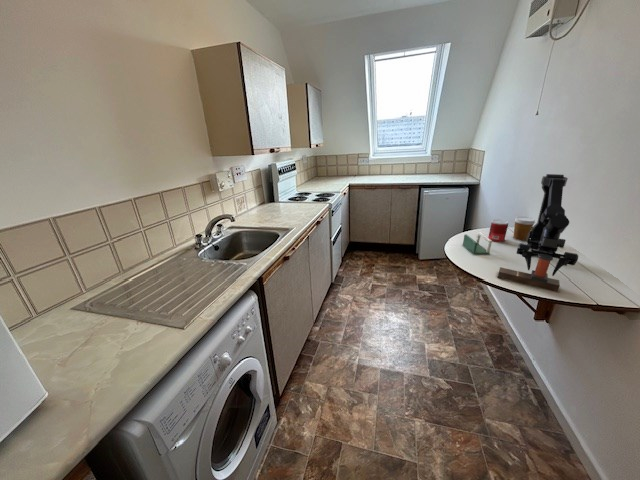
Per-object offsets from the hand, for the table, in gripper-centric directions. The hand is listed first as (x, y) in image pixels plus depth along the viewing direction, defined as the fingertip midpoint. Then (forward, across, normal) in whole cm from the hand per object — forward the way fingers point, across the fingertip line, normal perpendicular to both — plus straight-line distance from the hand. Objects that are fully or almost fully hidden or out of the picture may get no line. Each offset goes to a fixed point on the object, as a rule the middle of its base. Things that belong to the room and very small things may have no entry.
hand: (540, 272), depth 106 cm
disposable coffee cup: (-35, -11, +44) cm, 57 cm away
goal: (-13, -28, +22) cm, 37 cm away
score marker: (+1, 0, +3) cm, 3 cm away
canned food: (-28, -21, +37) cm, 51 cm away
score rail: (+4, -4, +5) cm, 7 cm away
